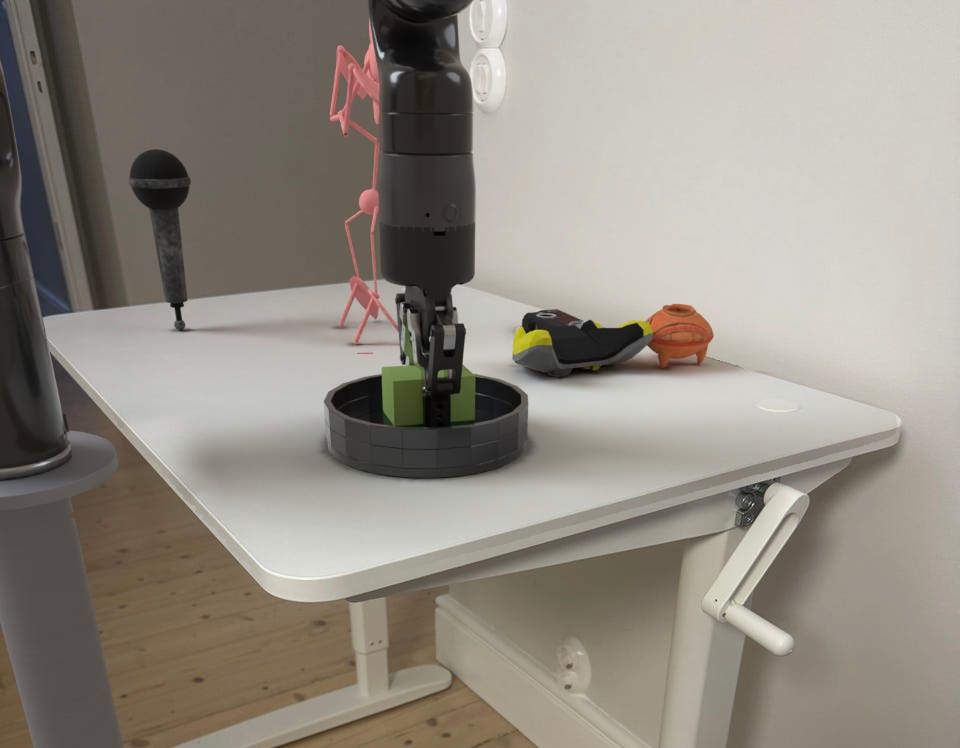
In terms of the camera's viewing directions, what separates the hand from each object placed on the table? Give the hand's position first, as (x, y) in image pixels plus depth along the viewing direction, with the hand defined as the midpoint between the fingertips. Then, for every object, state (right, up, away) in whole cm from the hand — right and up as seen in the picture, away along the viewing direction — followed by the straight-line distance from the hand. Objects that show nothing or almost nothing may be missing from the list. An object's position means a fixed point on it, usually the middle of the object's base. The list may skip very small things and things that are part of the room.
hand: (429, 428), depth 85 cm
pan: (0, -1, 0) cm, 1 cm away
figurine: (-5, +19, +36) cm, 42 cm away
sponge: (0, 0, 0) cm, 0 cm away
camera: (+14, +19, +36) cm, 43 cm away
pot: (+26, +12, +25) cm, 38 cm away
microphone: (-33, +20, +36) cm, 53 cm away
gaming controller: (+14, +11, +22) cm, 28 cm away
